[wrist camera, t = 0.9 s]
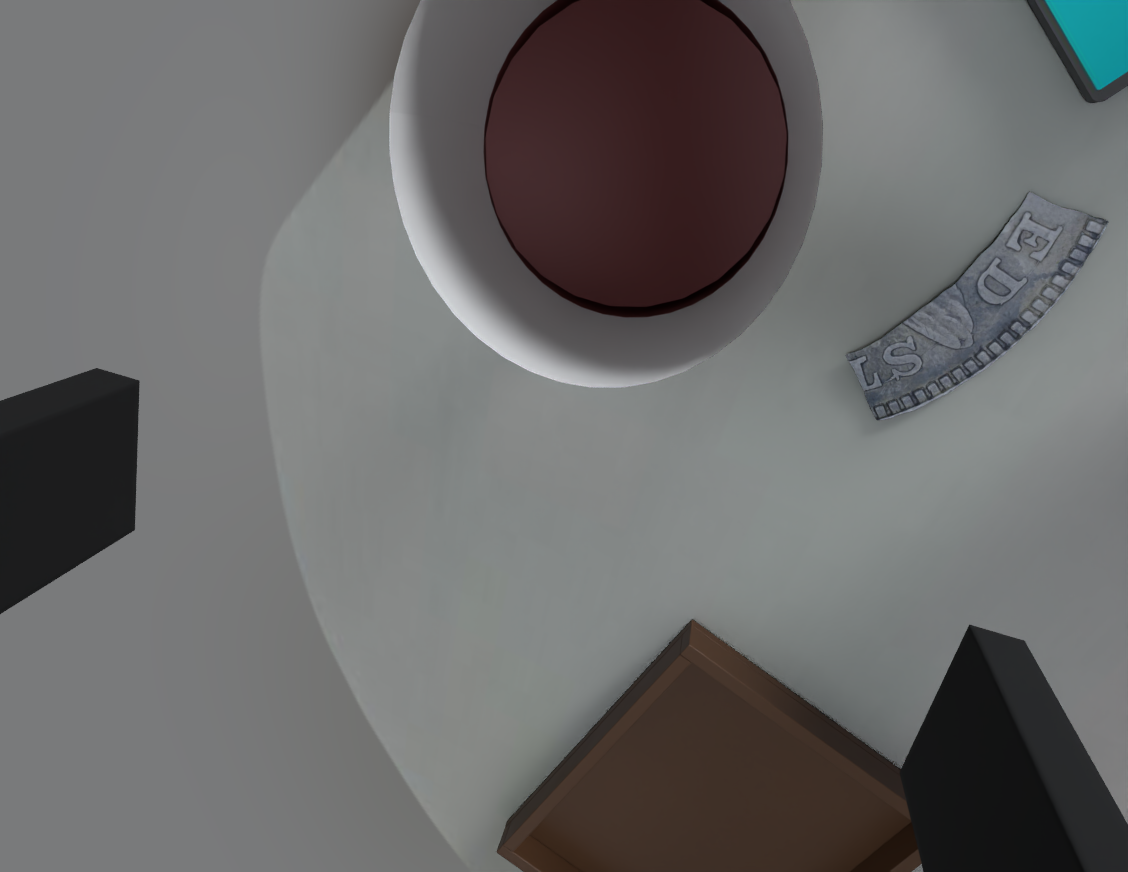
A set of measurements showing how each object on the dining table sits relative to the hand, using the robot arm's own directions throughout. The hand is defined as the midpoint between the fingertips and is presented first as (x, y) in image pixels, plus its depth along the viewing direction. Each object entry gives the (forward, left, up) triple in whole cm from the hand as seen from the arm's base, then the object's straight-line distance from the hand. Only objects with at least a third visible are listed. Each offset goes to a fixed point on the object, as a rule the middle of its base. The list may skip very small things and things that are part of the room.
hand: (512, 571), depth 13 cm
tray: (+24, +21, -30) cm, 44 cm away
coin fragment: (-7, +12, -30) cm, 33 cm away
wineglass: (-5, -3, -30) cm, 31 cm away
